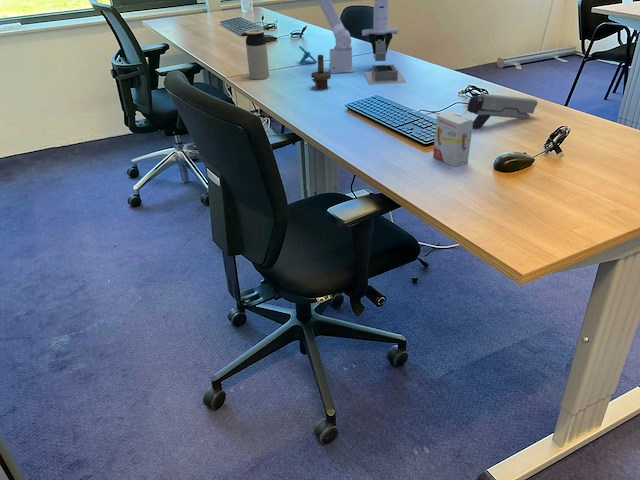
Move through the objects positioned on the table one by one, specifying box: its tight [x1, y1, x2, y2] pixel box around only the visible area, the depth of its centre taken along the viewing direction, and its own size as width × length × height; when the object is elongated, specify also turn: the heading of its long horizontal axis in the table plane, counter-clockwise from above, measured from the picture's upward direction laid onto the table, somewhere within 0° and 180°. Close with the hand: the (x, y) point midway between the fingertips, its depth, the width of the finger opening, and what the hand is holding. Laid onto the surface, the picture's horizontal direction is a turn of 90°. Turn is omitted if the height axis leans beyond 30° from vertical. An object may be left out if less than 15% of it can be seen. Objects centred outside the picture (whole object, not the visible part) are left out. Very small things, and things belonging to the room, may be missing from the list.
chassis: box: [363, 64, 406, 85], centre depth 204 cm, size 14×16×4 cm
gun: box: [466, 93, 538, 130], centre depth 156 cm, size 2×25×10 cm, turn 112°
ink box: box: [432, 110, 474, 168], centre depth 133 cm, size 9×5×12 cm, turn 31°
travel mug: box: [245, 28, 270, 80], centre depth 207 cm, size 8×8×18 cm
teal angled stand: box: [298, 45, 318, 64], centre depth 228 cm, size 11×6×10 cm
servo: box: [373, 39, 387, 62], centre depth 211 cm, size 4×10×7 cm, turn 3°
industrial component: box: [311, 54, 332, 90], centre depth 193 cm, size 9×7×12 cm
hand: (379, 53), depth 212 cm, fingers closed on servo, 4 cm apart
